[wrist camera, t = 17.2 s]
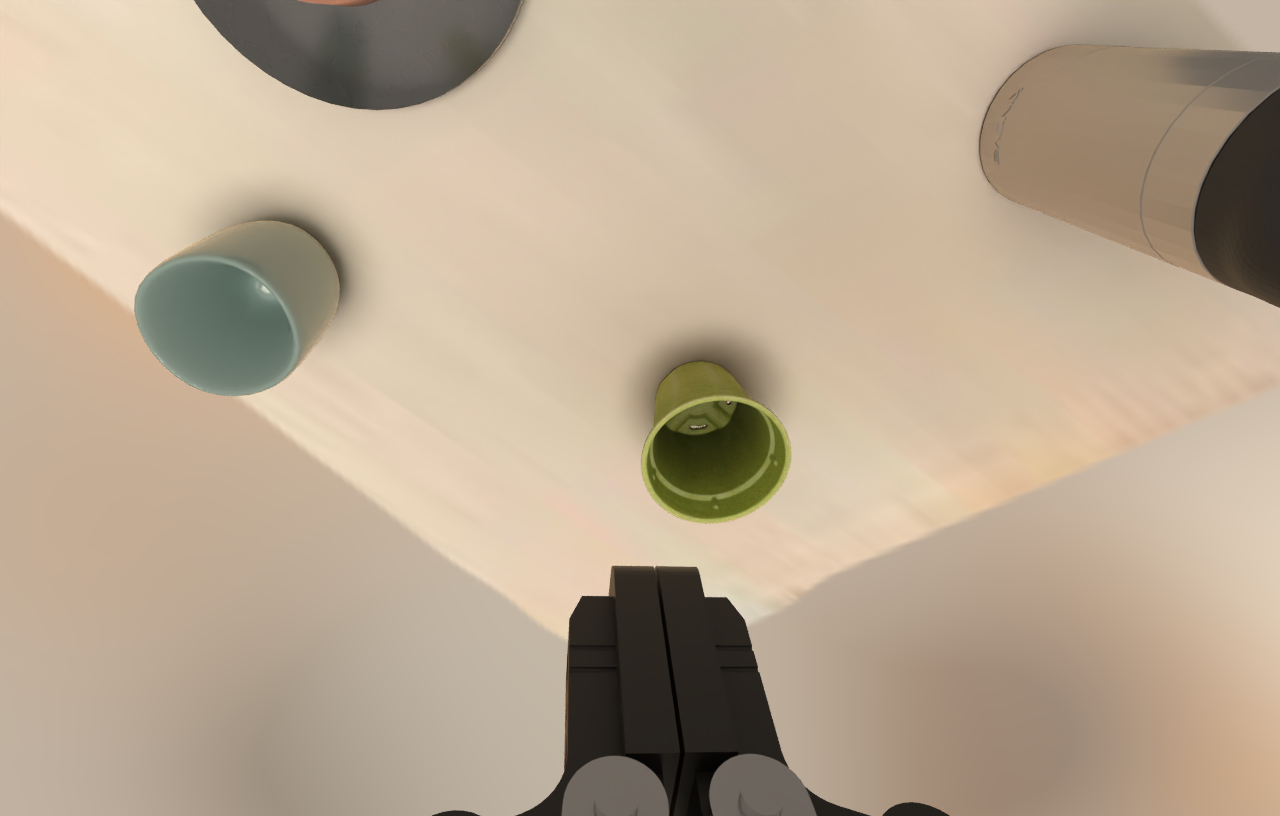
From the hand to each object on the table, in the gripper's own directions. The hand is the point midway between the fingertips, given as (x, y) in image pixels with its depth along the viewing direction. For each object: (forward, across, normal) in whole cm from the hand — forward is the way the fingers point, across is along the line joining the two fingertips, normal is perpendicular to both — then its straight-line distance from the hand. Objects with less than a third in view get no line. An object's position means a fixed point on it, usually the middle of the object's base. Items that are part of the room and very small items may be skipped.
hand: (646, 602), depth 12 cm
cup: (+35, +19, +6) cm, 40 cm away
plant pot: (+35, -8, +14) cm, 39 cm away
